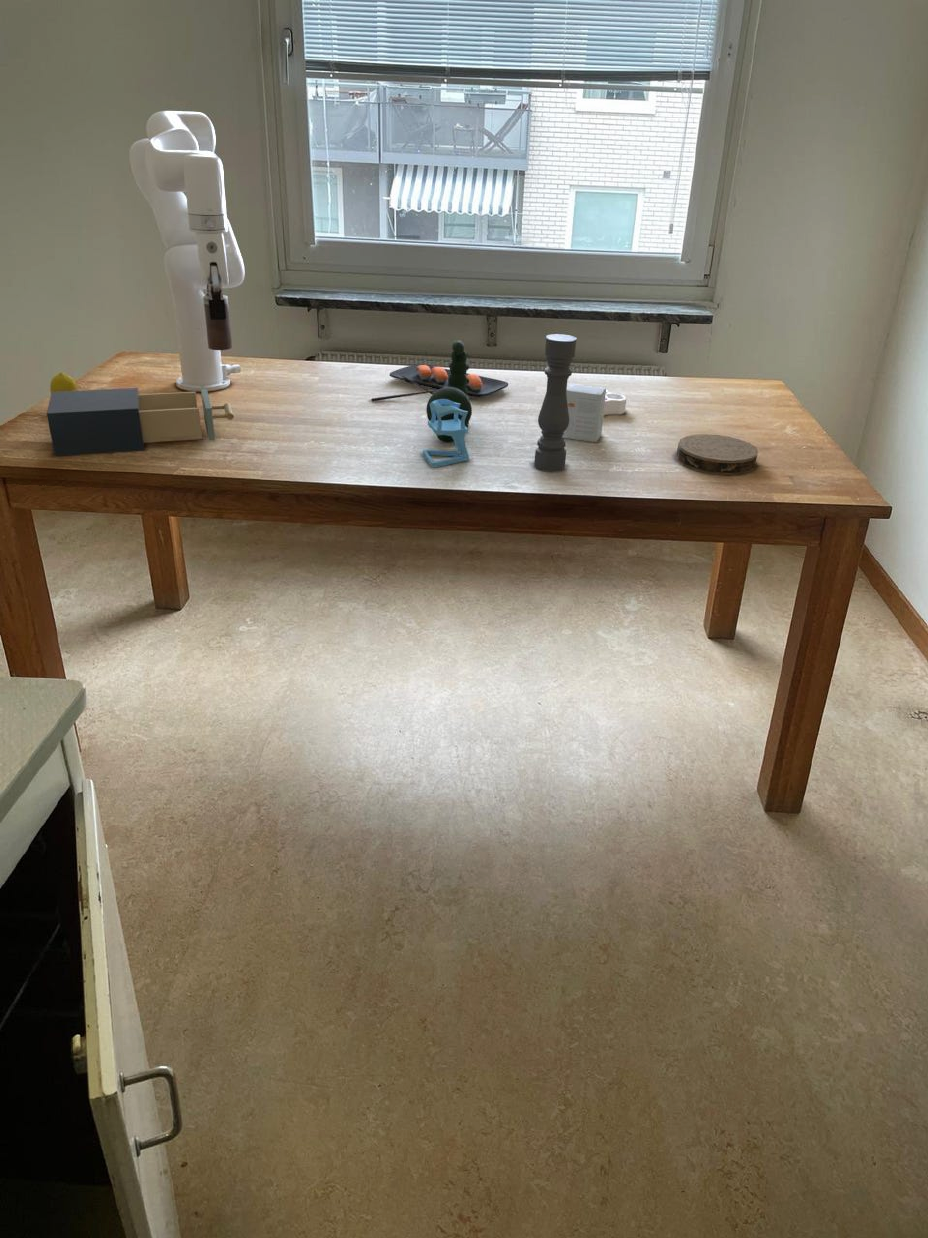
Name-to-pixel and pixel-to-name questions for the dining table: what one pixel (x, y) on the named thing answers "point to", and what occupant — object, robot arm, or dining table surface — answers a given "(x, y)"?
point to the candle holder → (555, 403)
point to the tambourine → (716, 454)
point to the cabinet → (95, 421)
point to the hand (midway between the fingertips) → (217, 315)
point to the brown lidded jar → (218, 328)
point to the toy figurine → (454, 388)
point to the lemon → (63, 383)
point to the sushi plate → (442, 381)
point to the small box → (585, 412)
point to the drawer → (177, 416)
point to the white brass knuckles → (614, 403)
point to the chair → (448, 432)
